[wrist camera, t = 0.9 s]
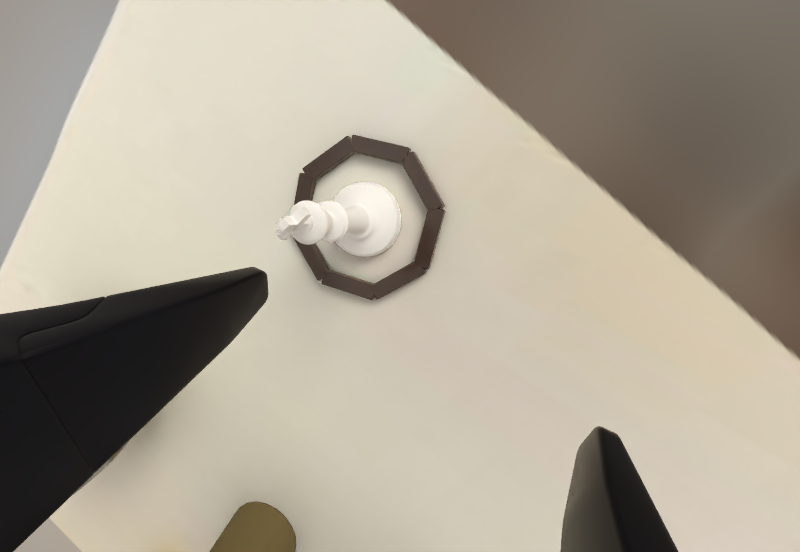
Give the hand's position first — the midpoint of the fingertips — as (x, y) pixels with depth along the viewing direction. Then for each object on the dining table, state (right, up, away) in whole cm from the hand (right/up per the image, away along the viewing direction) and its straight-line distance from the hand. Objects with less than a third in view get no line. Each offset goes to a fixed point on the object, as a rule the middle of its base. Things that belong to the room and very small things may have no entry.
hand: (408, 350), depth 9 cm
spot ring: (-3, +6, +15) cm, 16 cm away
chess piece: (-2, +6, +15) cm, 17 cm away
